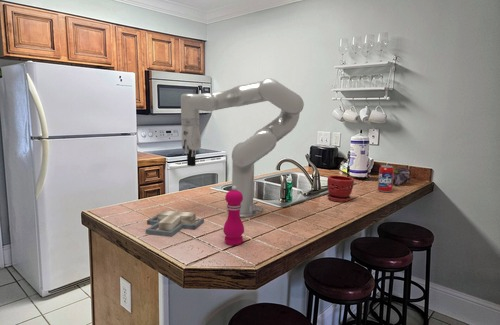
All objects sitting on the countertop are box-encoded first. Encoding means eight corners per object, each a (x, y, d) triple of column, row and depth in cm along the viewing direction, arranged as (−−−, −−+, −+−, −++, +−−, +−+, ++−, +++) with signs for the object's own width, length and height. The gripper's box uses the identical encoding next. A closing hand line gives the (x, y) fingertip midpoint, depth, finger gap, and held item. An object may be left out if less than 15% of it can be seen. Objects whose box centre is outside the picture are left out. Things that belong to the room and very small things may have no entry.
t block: (195, 222, 134) (195, 212, 134) (183, 234, 120) (183, 224, 120) (163, 219, 136) (163, 210, 136) (147, 231, 123) (147, 221, 122)
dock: (203, 222, 134) (203, 218, 134) (184, 238, 117) (184, 234, 117) (159, 217, 139) (159, 213, 139) (133, 232, 122) (133, 228, 122)
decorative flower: (381, 167, 218) (404, 161, 216) (383, 182, 222) (405, 176, 221) (390, 177, 204) (414, 171, 203) (392, 193, 209) (416, 187, 208)
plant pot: (343, 204, 163) (344, 181, 162) (321, 199, 173) (322, 176, 171) (357, 200, 172) (358, 177, 170) (335, 195, 182) (337, 174, 180)
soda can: (393, 190, 194) (395, 165, 192) (390, 193, 188) (393, 167, 185) (379, 189, 198) (381, 164, 196) (376, 191, 192) (378, 166, 189)
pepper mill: (223, 238, 118) (223, 183, 115) (243, 237, 118) (244, 183, 115) (223, 246, 111) (223, 188, 108) (244, 245, 111) (245, 188, 108)
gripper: (191, 123, 132) (192, 168, 135) (205, 122, 146) (206, 163, 149) (174, 123, 134) (175, 168, 137) (189, 122, 148) (190, 162, 151)
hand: (191, 165), depth 143 cm, fingers closed
